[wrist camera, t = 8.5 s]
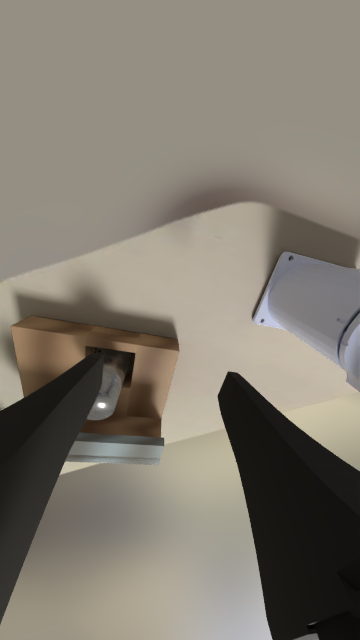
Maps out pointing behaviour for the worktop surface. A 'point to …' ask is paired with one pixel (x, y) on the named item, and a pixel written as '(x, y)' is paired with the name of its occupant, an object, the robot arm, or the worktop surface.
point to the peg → (110, 383)
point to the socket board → (135, 396)
